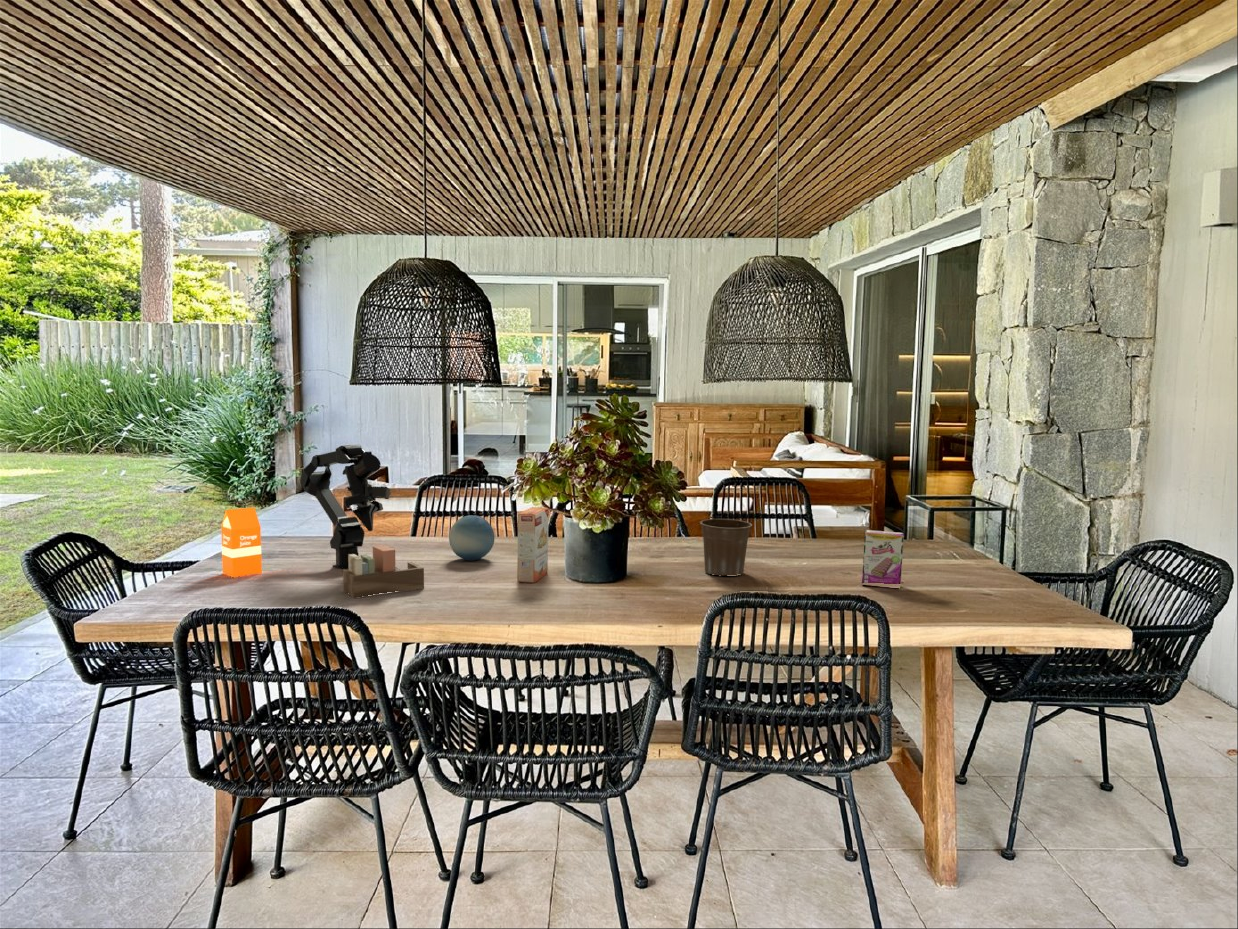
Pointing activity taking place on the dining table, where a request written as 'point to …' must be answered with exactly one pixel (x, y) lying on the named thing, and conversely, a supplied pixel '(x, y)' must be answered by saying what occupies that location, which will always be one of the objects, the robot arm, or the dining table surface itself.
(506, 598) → the dining table surface
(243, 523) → the orange juice
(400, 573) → the book rack
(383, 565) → the book
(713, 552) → the plant pot
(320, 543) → the dining table surface
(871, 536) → the candy bar box
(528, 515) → the cracker box
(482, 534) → the decorative ball
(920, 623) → the dining table surface
